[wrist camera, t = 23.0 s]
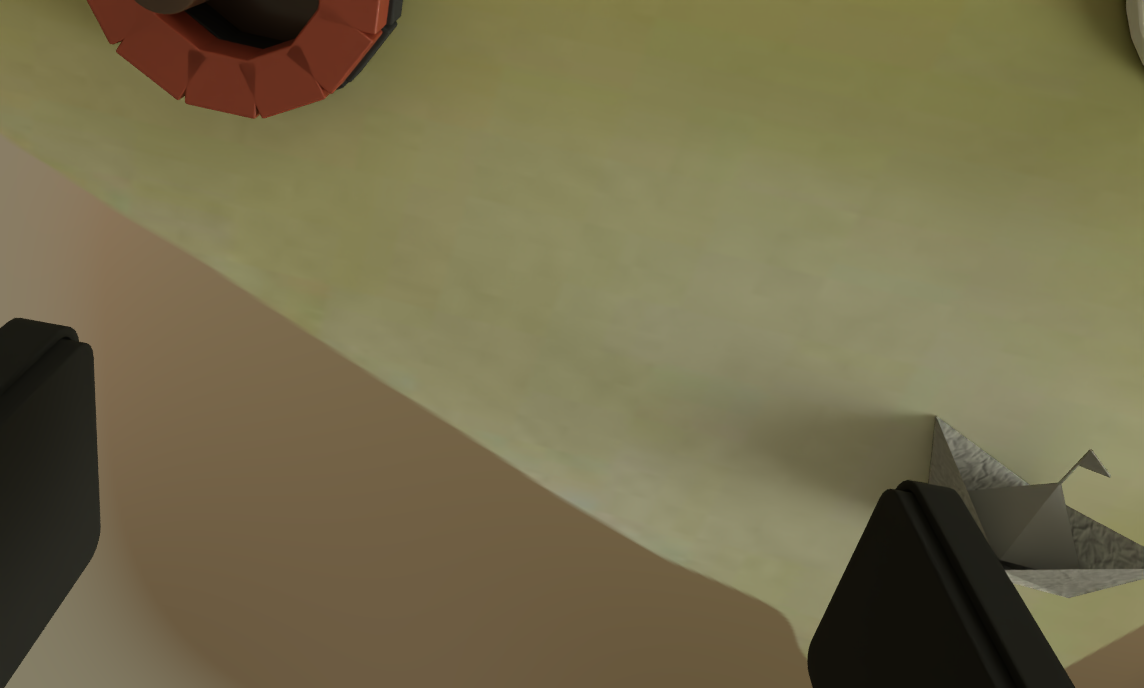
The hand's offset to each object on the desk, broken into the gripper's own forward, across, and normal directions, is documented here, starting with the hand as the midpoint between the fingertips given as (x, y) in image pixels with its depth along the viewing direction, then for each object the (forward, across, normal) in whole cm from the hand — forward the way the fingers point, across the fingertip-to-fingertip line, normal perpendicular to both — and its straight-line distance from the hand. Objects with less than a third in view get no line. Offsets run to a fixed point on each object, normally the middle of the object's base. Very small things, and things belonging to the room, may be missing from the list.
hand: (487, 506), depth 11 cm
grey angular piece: (+28, -27, +15) cm, 42 cm away
